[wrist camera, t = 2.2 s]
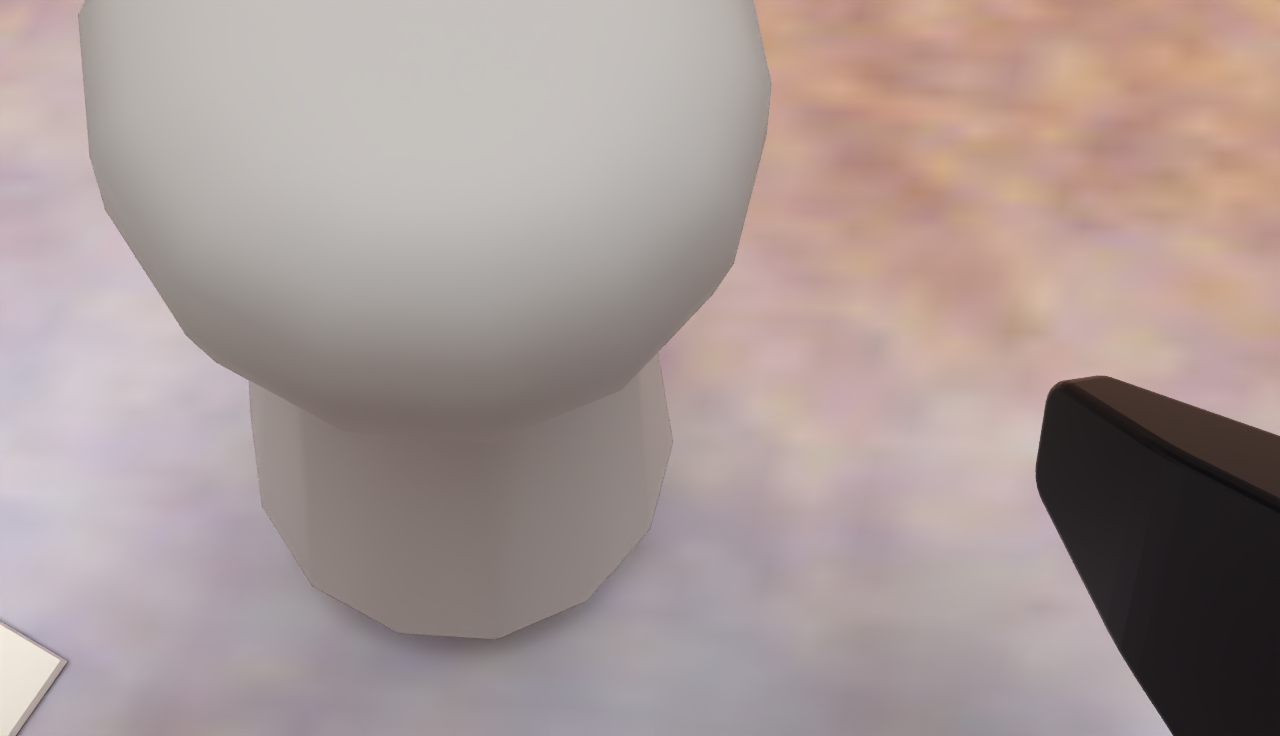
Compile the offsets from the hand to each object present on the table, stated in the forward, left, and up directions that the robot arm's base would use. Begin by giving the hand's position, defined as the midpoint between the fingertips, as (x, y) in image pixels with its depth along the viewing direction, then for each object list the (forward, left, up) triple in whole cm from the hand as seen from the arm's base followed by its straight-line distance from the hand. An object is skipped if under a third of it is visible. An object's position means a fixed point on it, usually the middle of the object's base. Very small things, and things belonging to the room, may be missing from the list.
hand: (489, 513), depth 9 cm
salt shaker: (+2, +2, -10) cm, 11 cm away
